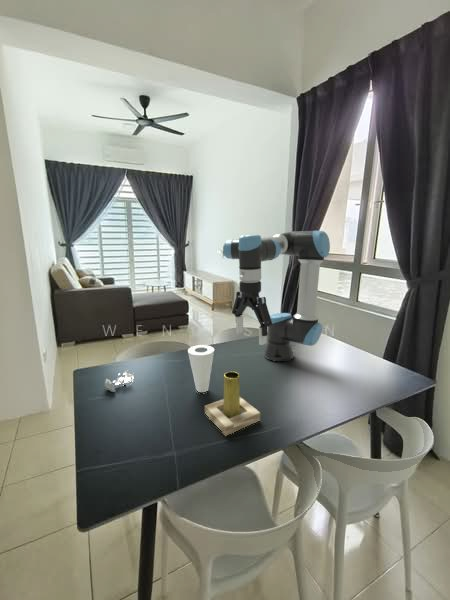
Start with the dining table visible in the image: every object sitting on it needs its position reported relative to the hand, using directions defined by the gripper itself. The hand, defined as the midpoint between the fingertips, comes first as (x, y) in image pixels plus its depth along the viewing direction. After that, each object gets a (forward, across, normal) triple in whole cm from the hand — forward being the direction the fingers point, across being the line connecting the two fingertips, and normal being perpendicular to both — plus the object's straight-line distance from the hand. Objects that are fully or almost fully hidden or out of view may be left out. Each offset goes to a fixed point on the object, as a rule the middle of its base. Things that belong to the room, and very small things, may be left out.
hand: (250, 338), depth 104 cm
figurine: (+26, -39, -40) cm, 62 cm away
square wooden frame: (+26, +4, -12) cm, 29 cm away
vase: (+24, +4, -12) cm, 27 cm away
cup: (+26, -18, -12) cm, 34 cm away
